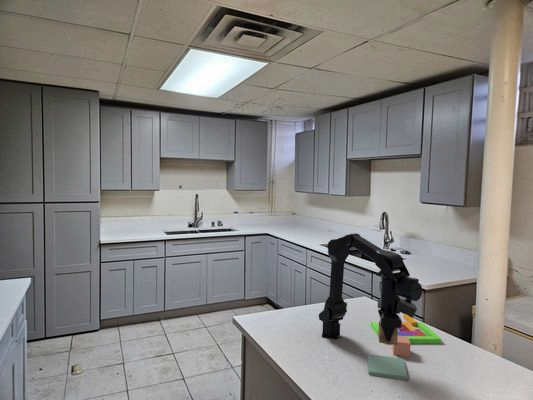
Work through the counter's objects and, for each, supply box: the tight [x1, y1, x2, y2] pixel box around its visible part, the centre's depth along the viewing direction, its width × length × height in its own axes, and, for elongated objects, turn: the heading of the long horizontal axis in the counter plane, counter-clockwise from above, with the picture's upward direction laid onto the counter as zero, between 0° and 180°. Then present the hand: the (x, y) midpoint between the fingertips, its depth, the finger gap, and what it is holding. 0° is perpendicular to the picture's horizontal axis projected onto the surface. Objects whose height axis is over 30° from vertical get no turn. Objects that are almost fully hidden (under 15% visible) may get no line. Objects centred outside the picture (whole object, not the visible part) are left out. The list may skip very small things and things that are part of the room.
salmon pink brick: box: [391, 336, 411, 357], centre depth 132 cm, size 6×6×5 cm
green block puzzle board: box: [370, 313, 442, 344], centre depth 152 cm, size 23×2×25 cm
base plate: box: [366, 353, 409, 381], centre depth 121 cm, size 12×12×1 cm
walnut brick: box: [377, 320, 398, 345], centre depth 120 cm, size 6×6×5 cm
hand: (387, 337), depth 120 cm, fingers closed on walnut brick, 6 cm apart
